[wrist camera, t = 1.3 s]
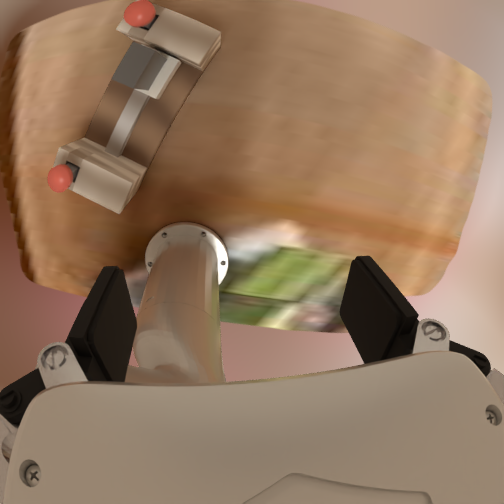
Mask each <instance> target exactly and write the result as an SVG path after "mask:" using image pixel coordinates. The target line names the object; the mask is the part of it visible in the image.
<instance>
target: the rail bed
mask: <svg viewBox="0 0 504 504" xmlns="http://www.w3.org/2000/svg"><path fill="white" fill-rule="evenodd" d="M136 1H138V0H136ZM152 5H153V6H154V7H155V10H156V15H155V17H156V18H157V20H156V21H155V23H154V24H153V25H152V27H151V28H150V30H149V29H146V28H144V27H139V28H136V27H132V26H130V25H129V24H128V23H127V22H126V21H125V20H124V18H123V19H122V21H121V22H120V24H119V25H118V27H117V28H116V30H118V31H119V32H121V33H123V34H124V35H126V36H127V37H129V38H130V39H132V40H133V41H134V42H136V43H138V44H143V45H145V46H148V47H150V48H153V49H155V50H157V51H160V52H162V53H164V54H167V55H169V56H171V57H173V58H175V59H178V60H180V62H181V64H180V66H179V67H178V69H177V71H176V72H175V74H174V75H173V77H172V79H171V80H170V82H169V83H168V85H167V87H166V88H165V90H164V92H163V94H162V95H161V97H160V99H155V98H153V97H151V96H149V95H146V94H144V93H142V92H140V91H138V90H135V89H133V88H131V87H128V86H126V85H124V84H121V83H119V82H117V81H114V80H111V82H110V83H109V85H108V87H107V89H106V91H105V93H104V95H103V97H102V99H101V101H100V104H99V106H98V108H97V110H96V112H95V114H94V117H93V119H92V121H91V124H90V126H89V128H88V131H87V133H86V136H85V138H82V139H79V140H77V141H74V142H72V143H69V144H66V145H64V146H62V147H59V150H58V153H57V156H56V159H55V162H54V166H53V167H55V166H57V165H59V164H65V165H66V164H68V163H70V162H71V163H73V164H75V165H77V166H79V167H80V169H79V172H78V175H77V178H75V179H74V180H73V182H72V184H71V186H70V187H69V188H68V189H70V190H72V191H74V192H76V193H78V194H80V195H82V196H84V197H86V198H88V199H90V200H92V201H94V202H96V203H97V204H99V205H101V206H103V207H105V208H107V209H109V210H112V211H114V212H116V213H118V214H120V213H121V212H122V210H123V209H124V208H125V206H126V205H127V204H128V202H129V201H130V200H131V199H132V197H133V196H134V195H135V194H136V192H137V191H138V189H139V187H140V185H141V183H142V180H143V178H144V176H145V174H146V172H147V170H148V168H149V166H150V164H151V162H152V160H153V158H154V156H155V154H156V152H157V150H158V148H159V146H160V144H161V142H162V141H163V139H164V137H165V135H166V133H167V131H168V130H169V128H170V126H171V124H172V122H173V121H174V119H175V117H176V115H177V114H178V112H179V110H180V109H181V107H182V105H183V103H184V102H185V100H186V99H187V97H188V95H189V94H190V92H191V90H192V89H193V87H194V86H195V84H196V83H197V81H198V79H199V78H200V76H201V75H202V73H203V72H204V70H205V69H206V67H207V66H208V64H209V63H210V62H211V60H212V59H213V57H214V56H215V54H216V53H217V52H218V50H219V49H220V45H221V32H220V31H218V30H216V29H214V28H212V27H210V26H207V25H205V24H203V23H201V22H199V21H196V20H194V19H192V18H189V17H187V16H185V15H182V14H180V13H177V12H175V11H172V10H170V9H167V8H164V7H162V6H159V5H156V4H153V3H152Z"/></svg>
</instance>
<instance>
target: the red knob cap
mask: <svg viewBox="0 0 504 504" xmlns="http://www.w3.org/2000/svg"><path fill="white" fill-rule="evenodd" d="M79 169H80V167H79V166H77V165H75V164H73V163H71V162H70V163H68V164H66V165H65V164H59V165H57V166H55V167H53V168H52V169H51V170H50V171H49V174H48V184H49V186H50V188H51V189H52V190H53V191H55V192H63V191H65V190H66V189H67V188H69V187H70V186H71V184H72V182H73V180H74V179H75V178H77V175H78V172H79Z"/></svg>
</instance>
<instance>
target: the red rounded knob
mask: <svg viewBox="0 0 504 504" xmlns="http://www.w3.org/2000/svg"><path fill="white" fill-rule="evenodd" d="M155 15H156V10H155V7H154V6H153V5H152V3H151V2H149V1H147V0H138V1H135V2H133V3H132V4H130V5H129V6H128V7H127V8H126V10H125V12H124V20H125V21H126V22H127V23H128V24H129V25H130V26H132V27H136V28H139V27H144V28H146V29H149V30H150V28H151V27H152V25H153V24H154V23H155V21H156V20H157V18H156V17H155Z"/></svg>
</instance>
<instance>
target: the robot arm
mask: <svg viewBox="0 0 504 504" xmlns="http://www.w3.org/2000/svg"><path fill="white" fill-rule="evenodd" d="M203 231H204V232H205V233H202V232H203ZM164 232H165V233H167V234H165V233H164ZM223 260H224V261H223ZM145 264H146V268H147V271H148V273H149V277H148V280H147V283H146V287H145V290H144V293H143V297H142V300H141V303H140V307H139V311H138V314H137V318H136V317H135V313H134V310H133V306H132V303H131V299H130V295H129V291H128V288H127V284H126V280H125V276H124V272H123V270H119V268H118V266H106V267H104V268H103V269H102V271H101V273H100V275H99V276H98V278H97V280H96V282H95V284H94V286H93V288H92V289H91V291H90V293H89V295H88V297H87V299H86V300H85V302H84V304H83V306H82V307H81V309H80V312H79V314H78V316H77V318H76V320H75V322H74V324H73V326H72V328H71V331H70V333H69V335H68V337H67V339H66V341H65V343H62V342H55V343H52V344H49V345H48V346H46V347H45V348H44V349H43V350H42V351H41V352H40V354H39V356H38V360H37V363H38V364H37V366H36V368H35V370H34V371H32V372H30V373H29V374H27V375H25V376H24V377H22V378H20V379H18V380H17V381H15V382H13V383H12V384H10V385H8V386H7V387H5V388H4V389H3V390H2V391H1V392H0V503H1V504H504V375H503V374H502V373H500V372H499V371H497V370H496V369H495V368H494V369H493V370H491V367H490V362H489V360H488V359H487V358H486V356H485V355H484V354H482V353H480V352H478V351H475V350H473V349H470V348H468V347H465V346H463V345H460V344H458V343H455V342H453V341H450V340H449V338H450V335H449V331H448V330H447V328H446V327H445V326H444V325H443V324H442V323H440V322H439V321H437V320H434V319H423V320H421V321H420V322H419V321H418V319H417V318H418V313H417V312H416V311H415V309H414V308H413V307H412V306H411V304H410V303H409V302H408V301H407V299H406V298H405V297H404V296H403V294H402V293H401V292H400V291H399V289H398V288H397V287H396V286H395V285H394V283H393V282H392V281H391V280H390V279H389V277H388V276H387V275H386V274H385V273H384V272H383V270H382V269H381V268H380V267H379V266H378V265H377V263H376V262H375V261H374V260H373V259H372V258H371V257H370V256H357V257H356V258H355V260H353V261H352V262H351V266H350V271H349V275H348V279H347V284H346V288H345V292H344V296H343V300H342V304H341V307H340V316H341V318H342V320H343V322H344V324H345V326H346V328H347V330H348V332H349V334H350V335H351V338H352V340H353V342H354V343H355V345H356V348H357V350H358V352H359V353H360V355H361V358H362V360H363V361H364V364H362V365H358V366H352V367H347V368H341V369H337V370H330V371H325V372H317V373H310V374H303V375H297V376H288V377H279V378H270V379H259V380H247V381H234V382H226V379H225V375H224V369H223V362H222V351H221V334H220V333H221V331H220V308H219V284H220V283H221V282H222V281H223V279H224V277H225V276H226V273H227V270H228V253H227V250H226V247H225V245H224V243H223V241H222V240H221V239H220V238H219V236H218V235H217V234H216V233H214V232H213V231H212V230H210V229H209V228H207V227H205V226H202V225H199V224H197V223H190V222H179V223H174V224H170V225H168V226H166V227H164V228H162V229H161V230H159V231H158V232H157V233H156V234H155V235H154V236H153V237H152V239H151V240H150V242H149V244H148V247H147V249H146V254H145ZM132 347H133V352H134V356H135V358H136V361H137V363H138V366H139V367H134V366H130V365H128V364H129V359H130V355H131V351H132Z"/></svg>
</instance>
